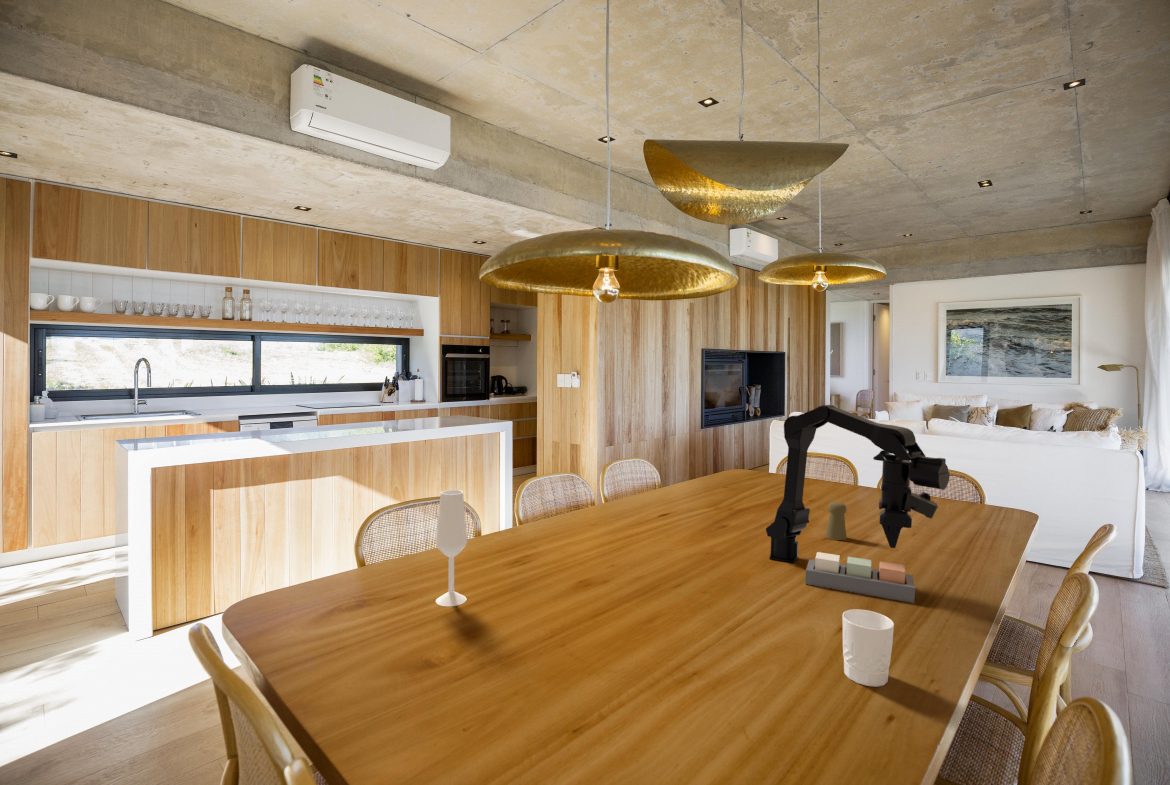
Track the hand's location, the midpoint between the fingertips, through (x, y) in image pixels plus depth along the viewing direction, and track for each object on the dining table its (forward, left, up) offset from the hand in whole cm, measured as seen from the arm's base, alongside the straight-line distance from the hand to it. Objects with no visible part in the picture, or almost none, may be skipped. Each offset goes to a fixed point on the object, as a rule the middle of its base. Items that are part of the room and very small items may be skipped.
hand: (892, 547), depth 135 cm
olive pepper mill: (-14, +41, -11) cm, 45 cm away
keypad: (-7, 0, -11) cm, 13 cm away
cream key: (-14, 0, -8) cm, 16 cm away
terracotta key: (0, 0, -9) cm, 9 cm away
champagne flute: (-87, -53, -11) cm, 102 cm away
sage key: (-7, 0, -8) cm, 11 cm away
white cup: (-5, -44, -11) cm, 46 cm away
